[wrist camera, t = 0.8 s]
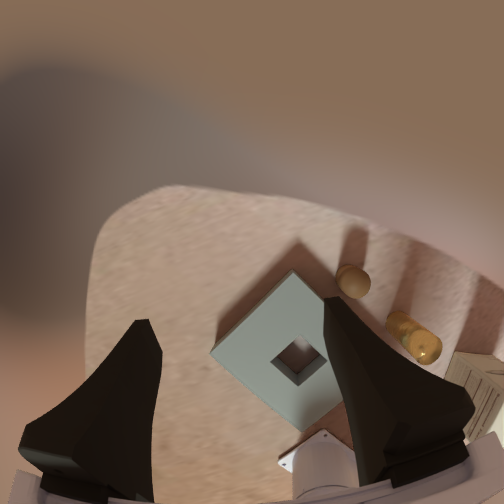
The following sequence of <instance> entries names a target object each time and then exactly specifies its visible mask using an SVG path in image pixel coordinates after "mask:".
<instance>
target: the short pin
mask: <svg viewBox="0 0 504 504" xmlns="http://www.w3.org/2000/svg"><path fill="white" fill-rule="evenodd" d="M335 279H336V283H337V285H338V286H339V288H340V289H341V290H342V291H343V292H344V293H345V294H346V295H347V296H349V297H351V298H354V299H357V298H361V297H363V296H365V295H366V294H367V293H368V291H369V289H370V286H371V281H370V277H369V275H368V274H367V273H366V272H365V271H363V270H361V269H359V268H357V267H355V266H353V265H344V266H342V267H341V268H339V270H338V271H337V273H336V277H335Z"/></svg>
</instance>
